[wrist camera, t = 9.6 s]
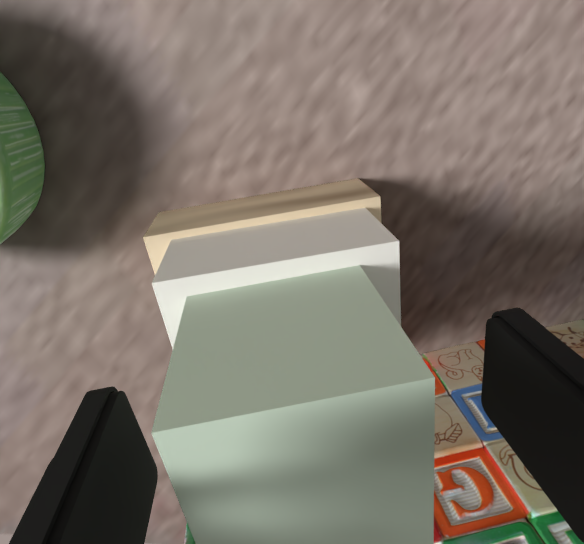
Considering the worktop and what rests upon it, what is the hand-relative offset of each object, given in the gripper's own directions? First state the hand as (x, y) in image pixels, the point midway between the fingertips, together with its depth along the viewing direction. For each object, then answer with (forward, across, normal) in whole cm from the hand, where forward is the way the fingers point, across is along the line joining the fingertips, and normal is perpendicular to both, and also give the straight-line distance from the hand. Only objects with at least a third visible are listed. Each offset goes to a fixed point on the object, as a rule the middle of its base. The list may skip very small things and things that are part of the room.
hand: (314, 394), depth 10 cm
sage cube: (+3, 0, 0) cm, 3 cm away
